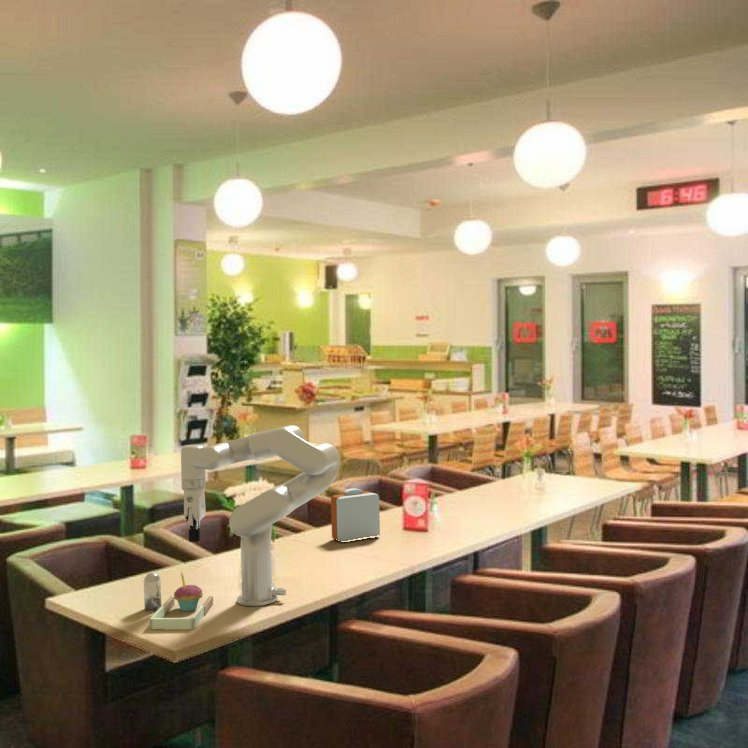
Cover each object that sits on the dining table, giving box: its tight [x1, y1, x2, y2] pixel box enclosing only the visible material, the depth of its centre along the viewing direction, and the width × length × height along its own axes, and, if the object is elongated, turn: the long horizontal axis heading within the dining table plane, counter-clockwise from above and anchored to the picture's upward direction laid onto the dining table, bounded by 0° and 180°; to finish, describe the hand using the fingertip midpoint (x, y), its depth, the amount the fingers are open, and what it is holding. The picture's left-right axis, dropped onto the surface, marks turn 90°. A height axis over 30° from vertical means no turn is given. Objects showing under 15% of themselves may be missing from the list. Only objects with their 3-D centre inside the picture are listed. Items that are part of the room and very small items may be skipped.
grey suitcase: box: [330, 487, 381, 542], centre depth 341 cm, size 18×9×21 cm, turn 120°
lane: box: [161, 595, 214, 617], centre depth 253 cm, size 13×11×2 cm
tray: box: [148, 604, 205, 630], centre depth 241 cm, size 13×12×3 cm
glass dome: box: [143, 572, 162, 612], centre depth 254 cm, size 5×5×11 cm
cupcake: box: [173, 570, 204, 612], centre depth 254 cm, size 9×8×12 cm
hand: (194, 541), depth 265 cm, fingers closed
